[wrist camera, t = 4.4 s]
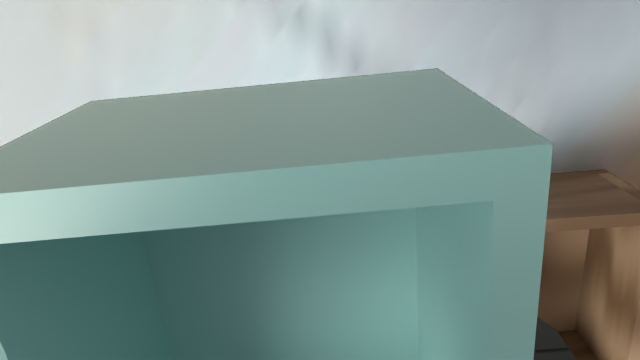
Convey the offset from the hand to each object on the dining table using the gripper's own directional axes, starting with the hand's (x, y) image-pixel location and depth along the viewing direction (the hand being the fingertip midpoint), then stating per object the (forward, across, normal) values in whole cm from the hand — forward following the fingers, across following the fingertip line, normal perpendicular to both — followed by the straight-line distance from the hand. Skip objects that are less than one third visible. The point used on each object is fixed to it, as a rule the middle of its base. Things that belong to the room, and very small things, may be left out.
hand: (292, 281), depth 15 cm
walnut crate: (+14, +14, -9) cm, 22 cm away
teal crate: (0, 0, 0) cm, 0 cm away
